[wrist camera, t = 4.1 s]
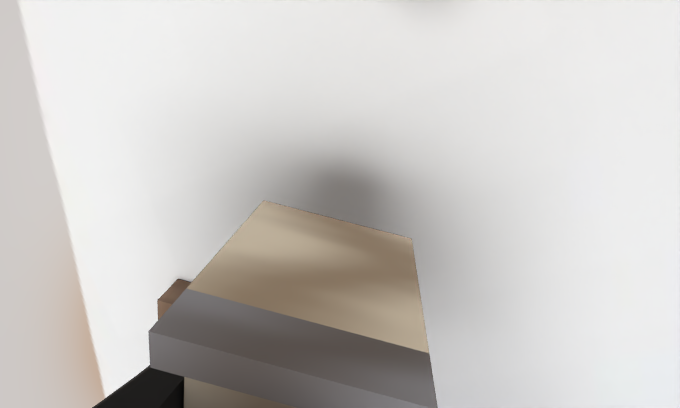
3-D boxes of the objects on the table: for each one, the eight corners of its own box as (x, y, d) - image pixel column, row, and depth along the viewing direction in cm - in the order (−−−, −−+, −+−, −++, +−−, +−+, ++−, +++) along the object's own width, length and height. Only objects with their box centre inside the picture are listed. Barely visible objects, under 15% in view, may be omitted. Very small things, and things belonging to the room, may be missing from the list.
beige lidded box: (409, 228, 10) (437, 409, 5) (349, 395, 13) (327, 607, 8) (270, 192, 10) (148, 331, 5) (245, 367, 13) (158, 558, 8)
